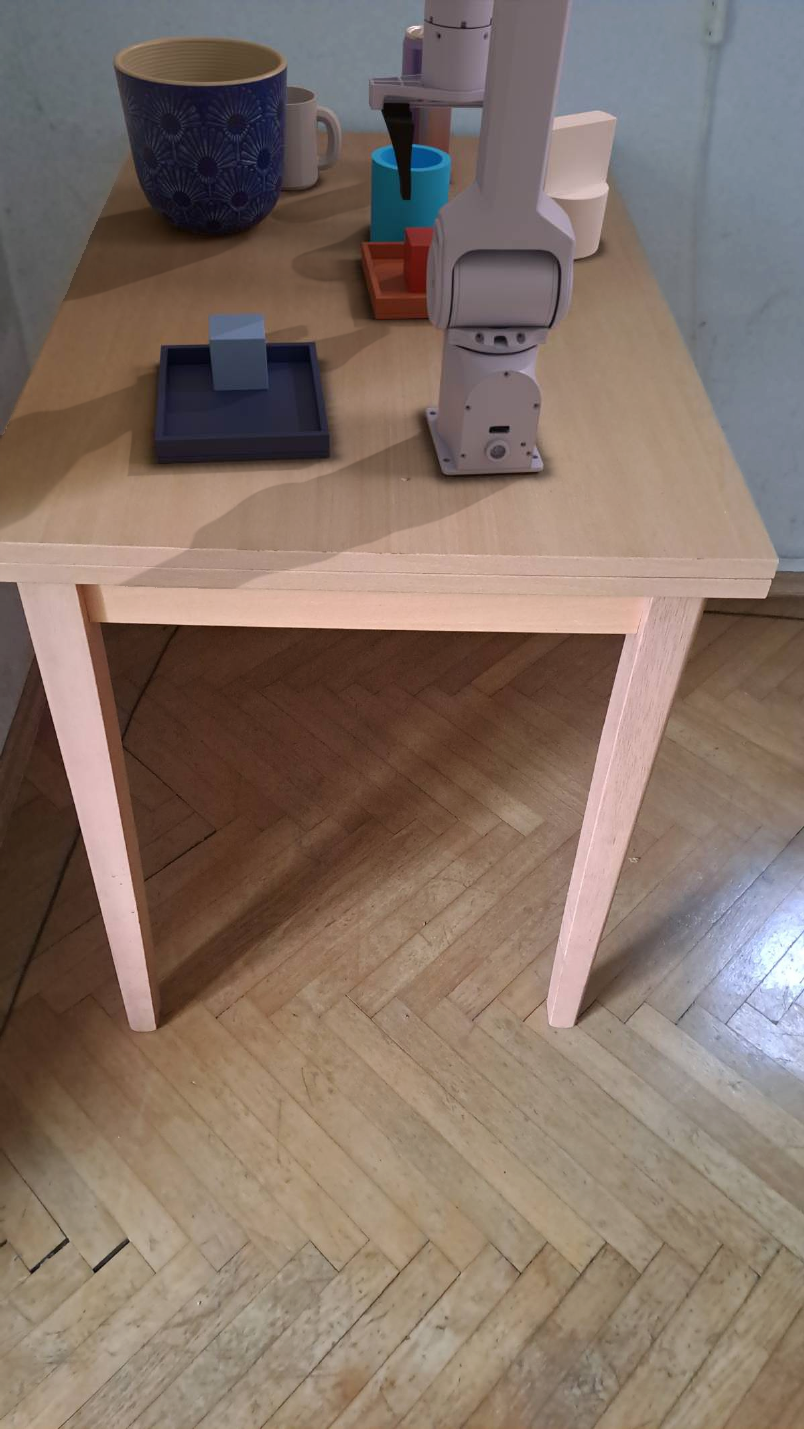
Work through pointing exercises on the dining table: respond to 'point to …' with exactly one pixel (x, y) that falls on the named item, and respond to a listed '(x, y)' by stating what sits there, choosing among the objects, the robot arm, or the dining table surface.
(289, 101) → the cup
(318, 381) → the blue tray
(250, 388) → the blue block
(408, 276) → the red block
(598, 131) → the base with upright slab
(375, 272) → the tray
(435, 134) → the beverage can
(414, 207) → the mug
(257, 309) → the dining table surface
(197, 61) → the planter
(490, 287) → the robot arm
